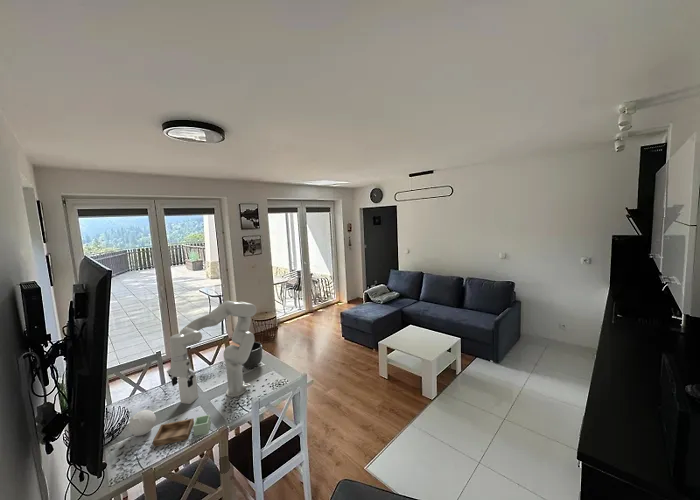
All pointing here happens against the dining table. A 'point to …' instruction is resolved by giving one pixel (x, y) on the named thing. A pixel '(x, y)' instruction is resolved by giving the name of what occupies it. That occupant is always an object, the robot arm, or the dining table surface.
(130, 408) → the dining table surface
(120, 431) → the dining table surface
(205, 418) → the sage bin
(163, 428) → the walnut crate
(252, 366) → the planter
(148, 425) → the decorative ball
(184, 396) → the milk carton
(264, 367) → the dining table surface
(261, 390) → the dining table surface
